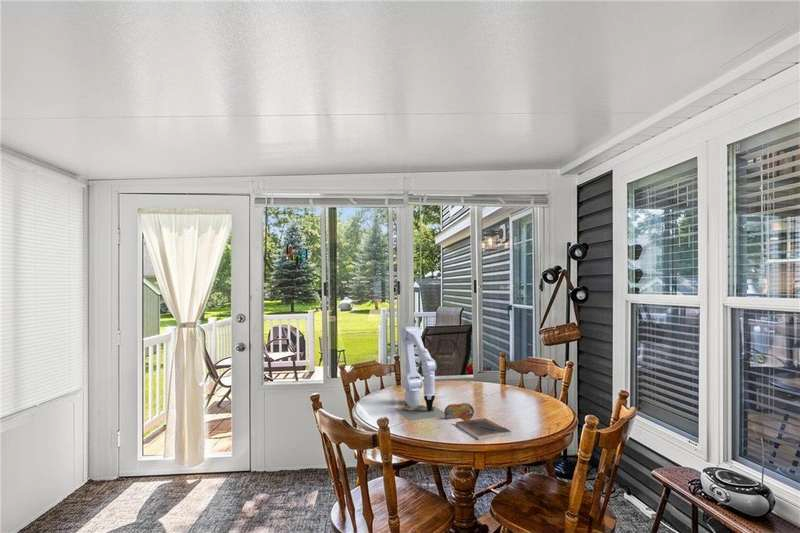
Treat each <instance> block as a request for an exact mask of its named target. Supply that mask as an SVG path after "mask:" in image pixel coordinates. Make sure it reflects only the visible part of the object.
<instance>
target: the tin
mask: <svg viewBox="0 0 800 533" xmlns="http://www.w3.org/2000/svg"><path fill="white" fill-rule="evenodd" d="M443 412H444V414H445V417H444V418H445V419H446V420H451V419H453V420H455V419H461V421H467V420H472V418H473V416H474V414H475V410H474V407H473V406H472V405H471V404H470V403H468V402H467V403H466V402H460V403H451V404H447V406H445V408H444V410H443Z"/></svg>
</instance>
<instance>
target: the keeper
mask: <svg viewBox="0 0 800 533" xmlns="http://www.w3.org/2000/svg"><path fill="white" fill-rule="evenodd" d="M418 405H420V404H419V400H414V407H418Z"/></svg>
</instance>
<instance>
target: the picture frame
mask: <svg viewBox="0 0 800 533" xmlns="http://www.w3.org/2000/svg"><path fill="white" fill-rule="evenodd" d="M455 426H456V427H458V428H459V429H461V430H463V431H464V432H466V433H467V432H468V434H469V435H470V436H472V437H474V438H476V439H477V440H479V441H480V439H481V440H488V439H493V438H494V437H495V438H499V437H507V436H512V431H511V430H510V429H508V428H506V427H503V426H502V425H500V424H497V423H496V422H493V421H492V420H490V419H487V418H486V417H485V418H477V419H476V418H475V419H470V420H467V421H464V420H460V421H455ZM487 438H488V439H487ZM495 438H494V439H495Z"/></svg>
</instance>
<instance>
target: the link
mask: <svg viewBox="0 0 800 533" xmlns="http://www.w3.org/2000/svg"><path fill="white" fill-rule="evenodd" d="M434 406H435V405H434V404H433V405H432V411H434ZM401 408H402V410H427V406H426V404H419V405H418V407H414V405H408V403H406V402H404V403H403V404H401Z"/></svg>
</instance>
